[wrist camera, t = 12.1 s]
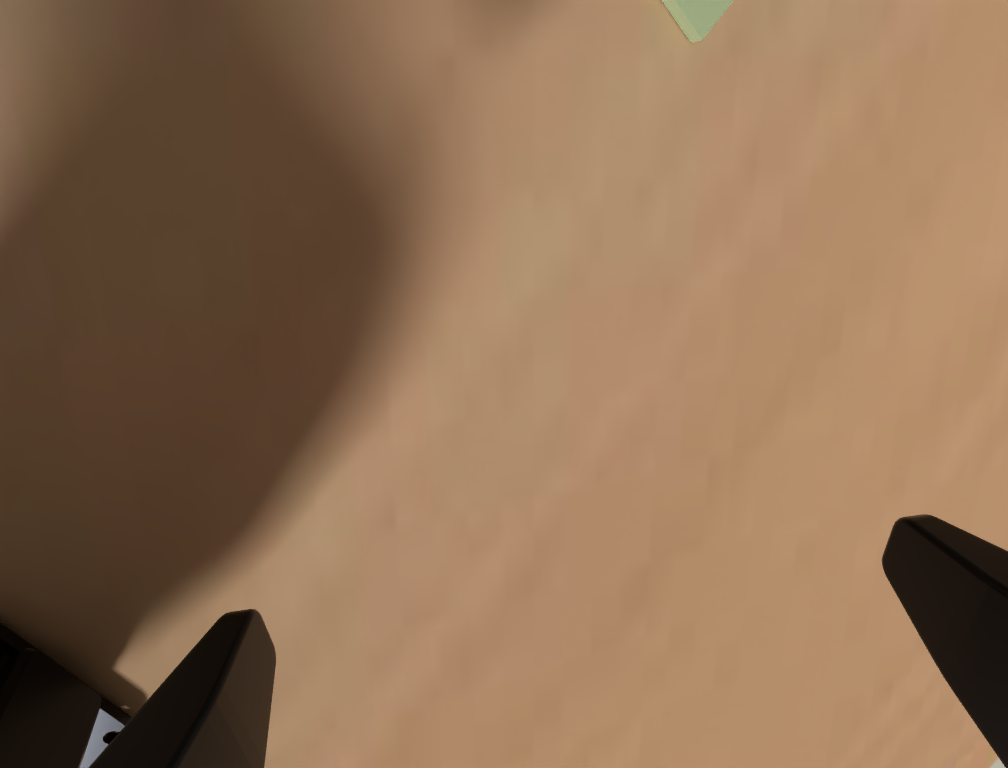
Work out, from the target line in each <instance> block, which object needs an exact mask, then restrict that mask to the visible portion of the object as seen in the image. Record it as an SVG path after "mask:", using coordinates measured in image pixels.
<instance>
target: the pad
mask: <svg viewBox="0 0 1008 768" xmlns="http://www.w3.org/2000/svg"><path fill="white" fill-rule="evenodd" d="M733 1H734V0H662V2H663V3H664V5H665V6H666V7H667V9H668V10H669V12H670V13H671V15H672V16H673V17H674V19H675V20H676V22H677V23H678V25H679V26H680V28H681V29H682V30H683V32H684V33H685V35H686V36H687V38H688V39H689V41H690V42H691V43H693V42H697V41H700V40H703V38H704V37H705V36H706V35H707V33H708V32H709V31H710V30H711V28H712V27H713V26H714V25H715V23H716V22H717V21H718V19H719V18H720V17H721V16H722V14H723V13H724V12H725V11H726V9H727V8H728V7H729V6H730V4H731V3H732V2H733Z"/></svg>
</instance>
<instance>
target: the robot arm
mask: <svg viewBox="0 0 1008 768" xmlns="http://www.w3.org/2000/svg"><path fill="white" fill-rule="evenodd" d="M882 565H883V569H884V572H885V575H886V577H887V578H888V580H889V582H890V584H891V586H892V587H893V589H894V591H895V593H896V594H897V596H898V598H899V600H900V602H901V603H902V605H903V607H904V609H905V610H906V612H907V614H908V616H909V617H910V619H911V621H912V623H913V625H914V626H915V628H916V630H917V632H918V633H919V635H920V637H921V639H922V640H923V642H924V644H925V646H926V648H927V649H928V651H929V653H930V655H931V656H932V658H933V660H934V662H935V663H936V665H937V667H938V668H939V670H940V672H941V673H942V675H943V677H944V678H945V680H946V681H947V683H948V684H949V686H950V687H951V689H952V690H953V692H954V693H955V695H956V696H957V698H958V699H959V701H960V702H961V703H962V705H963V706H964V708H965V709H966V711H967V712H968V714H969V715H970V717H971V718H972V719H973V721H974V722H975V724H976V725H977V727H978V728H979V730H980V731H981V732H982V734H983V735H984V737H985V738H986V740H987V741H988V743H989V744H990V746H991V747H992V748H993V750H994V751H995V753H996V754H997V756H998V757H999V759H1000V760H1001V761H1002V763H1003V764H1004V766H1005V767H1006V768H1008V551H1006V550H1004V549H1002V548H1000V547H998V546H996V545H993V544H991V543H989V542H987V541H985V540H983V539H981V538H979V537H977V536H975V535H972V534H970V533H968V532H966V531H964V530H962V529H960V528H958V527H956V526H953V525H951V524H949V523H947V522H945V521H943V520H941V519H939V518H936V517H934V516H931V515H915V516H908V517H902V518H899V519H898V520H897V521H896V522H895V524H894V525H893V528H892V531H891V534H890V537H889V539H888V542H887V545H886V548H885V551H884V554H883V557H882ZM275 666H276V653H275V648H274V645H273V642H272V640H271V638H270V635H269V633H268V631H267V628H266V626H265V624H264V621H263V619H262V617H261V615H260V613H259V612H258V611H257V610H255V609H248V610H241V611H234V612H229V613H226V614H224V615H223V616H222V617H220V618H219V619H218V620H217V622H216V623H215V624H214V625H213V626H212V627H211V628H210V630H209V631H208V632H207V633H206V634H205V635H204V636H203V638H202V639H201V640H200V641H199V642H198V643H197V644H196V646H195V647H194V648H193V649H192V650H191V651H190V652H189V653H188V655H187V656H186V657H185V658H184V659H183V660H182V661H181V663H180V664H179V665H178V666H177V667H176V668H175V669H174V671H173V672H172V673H171V674H170V675H169V676H168V677H167V679H166V680H165V681H164V682H163V683H162V684H161V685H160V687H159V688H158V689H157V690H156V691H155V692H154V693H153V695H152V696H151V697H150V698H149V699H148V700H147V701H146V703H145V704H144V705H143V706H142V707H141V708H140V709H139V710H138V712H137V713H136V714H135V715H134V716H133V717H131V716H129V715H128V714H127V713H125V712H124V711H122V710H121V709H120V708H118V707H117V706H116V705H114V704H113V703H111V702H110V701H109V700H107V699H106V698H104V697H103V696H102V695H100V694H99V693H97V692H96V691H95V690H93V689H92V688H90V687H89V686H88V685H86V684H85V683H84V682H82V681H81V680H79V679H78V678H77V677H75V676H74V675H72V674H71V673H70V672H68V671H67V670H65V669H64V668H63V667H61V666H60V665H59V664H57V663H56V662H54V661H53V660H52V659H50V658H49V657H47V656H46V655H45V654H43V653H42V652H40V651H39V650H38V649H36V648H35V647H33V646H32V645H31V644H29V643H28V642H27V641H25V640H24V639H22V638H21V637H20V636H18V635H17V634H15V633H14V632H13V631H11V630H10V629H8V628H7V627H6V626H4V625H3V624H1V623H0V768H264V765H265V756H266V747H267V738H268V729H269V720H270V711H271V702H272V693H273V684H274V675H275ZM111 731H118V732H116V733H112V732H111Z"/></svg>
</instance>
